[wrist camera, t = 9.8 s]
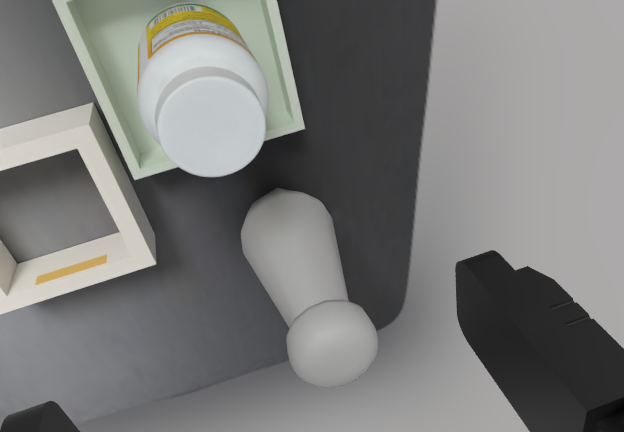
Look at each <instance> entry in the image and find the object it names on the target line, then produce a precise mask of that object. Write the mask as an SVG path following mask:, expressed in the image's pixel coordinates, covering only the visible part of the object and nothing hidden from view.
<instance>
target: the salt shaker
mask: <svg viewBox="0 0 624 432" xmlns="http://www.w3.org/2000/svg"><path fill="white" fill-rule="evenodd" d="M241 241H242V248H243V254H244V255H245V257H246V259H247V260H248V262H249V263H250V265H251V267H252V268H253V270H254V271H255V273H256V275H257V276H258V278H259V280H260V281H261V283H262V284H263V286H264V288H265V289H266V291H267V292H268V294H269V296H270V297H271V299H272V301H273V302H274V304H275V305H276V307H277V309H278V310H279V312H280V313H281V315H282V317H283V318H284V320H285V322H286V323H287V325H288V326H289V328H290V329H289V331H288V333H287V338H286V340H287V351H288V356H289V361H290V364H291V366H292V368H293V369H294V371H295V373H296V374H297V375H298V376H299V377H300V378H301V379H302V380H303V381H304V382H305V383H309V384H312V385H316V386H320V387H324V388H328V387H337V386H342V385H344V384H347V383H349V382H351V381H354V380H356V379H357V378H358V377H360V376H361V375H362V374H363V373H364V372H365V371H367V370H368V368H369V366H370V365H371V363H372V361H373V360H374V358H375V356H376V355H377V353H378V337H377V333H376V329H375V327H374V325H373V324H372V322H371V320H370V319H369V317H368V316H367V314H366V313H365V311H364V310H363V309H362V308H361V307H360V306H359V305H357V304H354V303H352V302H349V300H348V296H347V291H346V286H345V281H344V276H343V271H342V266H341V261H340V256H339V251H338V246H337V241H336V236H335V231H334V226H333V221H332V217H331V216H330V214H329V213H328V211H327V210H326V208H325V206H324V205H323V203H322V202H321V201H320V200H318V199H316V198H314V197H312V196H310V195H308V194H305V193H303V192H297V191H290V190H286V189H281V188H275V189H274V190H272V191H271V192H269V193H267V194H266V195H264V196H263V197H261V198H259V199H258V200H256V201H255V202H253V203H252V205H251V207H250V209H249V211H248V213H247V216H246V218H245V221H244V224H243V227H242V230H241Z"/></svg>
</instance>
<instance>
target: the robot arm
mask: <svg viewBox="0 0 624 432" xmlns="http://www.w3.org/2000/svg"><path fill="white" fill-rule="evenodd" d="M455 272H456V298H457V299H456V300H457V316H458V321H459V324H460V327H461V330H462V332H463V334H464V336H465V338H466V340H467V342H468V343H469V345H470V346H471V348H472V349H473V350H474V352H475V353H476V355H477V356H478V358H479V359H480V360H481V362H482V363H483V365H484V366H485V368H486V369H487V371H488V372H489V373H490V375H491V376H492V378H493V379H494V381H495V382H496V383H497V385H498V386H499V388H500V389H501V391H502V392H503V393H504V395H505V396H506V398H507V399H508V401H509V402H510V404H511V405H512V407H513V408H514V409H515V411H516V412H517V414H518V415H519V417H520V418H521V419H522V421H523V422H524V424H525V425H526V427H527V428H528V430H529V431H530V432H624V349H623V348H622V347H621V346H620V345H619V344H618V343H617V342H616V341H615V340H614V339H613V338H612V337H611V336H610V335H609V334H608V333H607V332H606V331H605V330H604V329H603V328H602V327H601V326H600V325H599V324H598V323H597V322H596V321H595V320H594V319H590V317H589V315H588V313H587V312H586V311H585V310H584V309H583V308H582V307H581V306H580V305H579V304H578V303H575V302H574V301H573V298H572V297H571V296H570V295H569V294H568V293H567V292H566V291H565V290H564V289H563V288H562V287H561V286H560V285H559V284H558V283H557V282H556V281H555V280H554V279H552V278H549V277H548V276H546V275H544V274H542V273H539V272H538V271H536V270H534V269H532V268H530V267H528V266H527V267H524V268H521V269H518V270H516V271H515V270H514V269H513V268H512V267H511V266H510V265H509V263H508V262H507V261H505V259H504V258H503V257H502V256H501V255H500V254H499V253H497V252H496V251H492V250H491V251H488V252H485V253H483V254H480V255H477V256H474V257H471V258H468V259H465V260H462V261H459V262H457V264H456V270H455ZM0 432H80V431H79V430H78V429H77V427H76V426H75V425H74V424H73V422H72V421H71V420H70V419H69V417H68V416H67V415H66V414H65V413H64V411H63V410H62V409H61V408H60V406H59V405H58V404H57V403H55V402H53V401H49V402H46V403H43V404H40V405H37V406H34V407H31V408H28V409H25V410H23V411H20V412H17V413H14V414H11V415H8V416H7V417H6V418H5V419H4V421H3V423H2V426H1V430H0Z"/></svg>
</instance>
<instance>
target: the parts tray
mask: <svg viewBox="0 0 624 432" xmlns="http://www.w3.org/2000/svg"><path fill="white" fill-rule="evenodd" d="M52 2H53V4H54V6H55V8H56V10H57V12H58V15H59V17H60V19H61V21H62V23H63V26H64V28H65V30H66V32H67V34H68V36H69V39H70V41H71V43H72V45H73V47H74V50H75V52H76V54H77V56H78V58H79V60H80V63H81V65H82V67H83V69H84V71H85V74H86V76H87V78H88V80H89V82H90V84H91V87H92V89H93V91H94V93H95V95H96V98H97V100H98V102H99V104H100V106H101V108H102V111H103V113H104V115H105V117H106V119H107V122H108V124H109V126H110V128H111V130H112V132H113V135H114V137H115V139H116V141H117V143H118V145H119V148H120V150H121V152H122V154H123V156H124V159H125V161H126V163H127V165H128V167H129V169H130V172H131V174H132V176H133V178H134V180H137V179H140V178H143V177H147V176H150V175H153V174H157V173H160V172H163V171H167V170H170V169H173V168H177V167H178V166H177V165H175V164H174V163H173V162H172V161H171V160H170V159H169V158H168V157H167V155H166V154H165V152H164V150H163V149H162V147H161V145H159V144H158V143H157V142H156V141H155V140H154V139H153V137H152V136H151V135H150V133H149V132H148V130H147V129H146V127H145V125H144V123H143V121H142V118H141V115H140V112H139V107H138V99H137V88H138V46H139V41H140V37H141V34H142V32H143V30H144V28H145V26H146V24H147V23H148V22H149V20H150V19H151V18H152V17H153V16H154V15H155V14H156V13H158V12H159V11H160V10H162V9H164V8H166V7H168V6H171V5H174V4H178V3H183V2H194V3H200V4H205V5H208V6H210V7H212V8H215V9H216V10H218V11H220V12H221V13H223V14H224V15H225V16H226V17H228V18H229V19H230V21H231V22H232V23H233V24H234V25H235V27H236V28H237V30H238V31H239V33H240V35H241V36H242V38H243V40H244V41H245V43H246V45H247V46H248V48H249V49H250V51H251V53H252V54H253V56H254V57H255V59H256V61H257V62H258V64H259V66H260V67H261V69H262V71H263V74H264V76H265V79H266V82H267V86H268V91H269V108H268V114H267V118H266V133H265V139H264V141H266V140H269V139H273V138H276V137H279V136H283V135H286V134H289V133H293V132H296V131H299V130H303V129H305V126H304V122H303V117H302V113H301V108H300V104H299V99H298V95H297V90H296V85H295V81H294V76H293V72H292V67H291V63H290V58H289V54H288V49H287V45H286V40H285V35H284V31H283V26H282V22H281V17H280V13H279V8H278V4H277V0H52Z"/></svg>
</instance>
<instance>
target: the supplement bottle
mask: <svg viewBox="0 0 624 432" xmlns="http://www.w3.org/2000/svg"><path fill="white" fill-rule="evenodd" d="M137 99H138V107H139V112H140V115H141V118H142V121H143V123H144V125H145V127H146V129H147V130H148V132H149V133H150V135H151V136H152V137H153V139H154V140H155V141H156V142H157V143H158V144H159V145H161V147H162V149H163V150H164V152H165V154H166V155H167V157H168V158H169V159H170V160H171V161H172V162H173V163H174V164H175V165H177V166H178V167H179V168H181V169H183V170H185V171H186V172H188V173H191V174H194V175H198V176H202V177H221V176H225V175H229V174H232V173H234V172H236V171H238V170H240V169H242V168H243V167H245V166H246V165H247V164H249V163H250V162H251V161H252V160H253V159H254V158H255V156H256V155H257V154H258V152H259V150H260V149H261V147H262V144H263V142H264V139H265V133H266V118H267V114H268V108H269V91H268V86H267V82H266V79H265V76H264V74H263V71H262V69H261V67H260V66H259V64H258V62H257V61H256V59H255V57H254V56H253V54H252V53H251V51H250V49H249V48H248V46H247V45H246V43H245V41H244V40H243V38H242V36H241V35H240V33H239V31H238V30H237V28H236V27H235V25H234V24H233V23H232V22H231V21H230V19H229V18H228V17H226V16H225V15H224V14H223V13H221V12H220V11H218V10H216V9H215V8H212V7H210V6H208V5H205V4H200V3H194V2H183V3H178V4H174V5H171V6H168V7H166V8H164V9H162V10H160V11H159V12H158V13H156V14H155V15H154V16H153V17H152V18H151V19H150V20H149V22H148V23H147V24H146V26H145V28H144V30H143V32H142V34H141V37H140V41H139V46H138V88H137Z"/></svg>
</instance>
